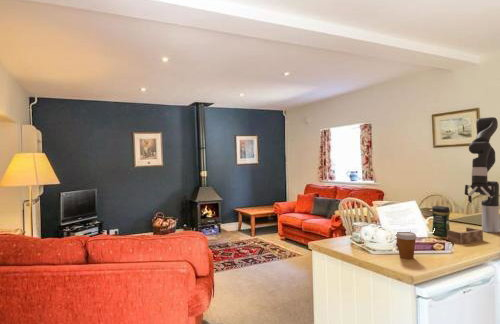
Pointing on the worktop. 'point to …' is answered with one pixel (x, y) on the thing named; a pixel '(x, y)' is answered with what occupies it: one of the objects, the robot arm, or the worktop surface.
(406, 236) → the disposable coffee cup
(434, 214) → the coffee jar
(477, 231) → the bracket
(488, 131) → the robot arm
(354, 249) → the worktop surface
